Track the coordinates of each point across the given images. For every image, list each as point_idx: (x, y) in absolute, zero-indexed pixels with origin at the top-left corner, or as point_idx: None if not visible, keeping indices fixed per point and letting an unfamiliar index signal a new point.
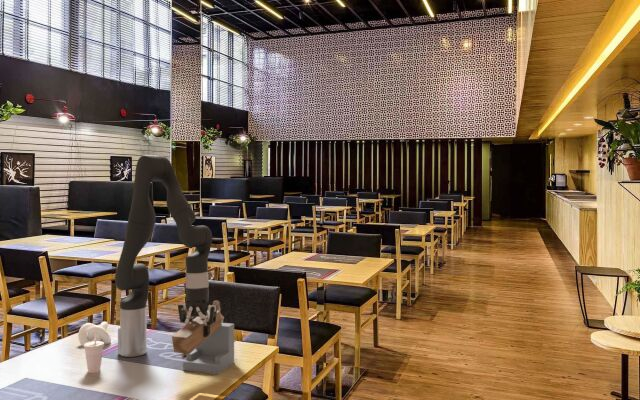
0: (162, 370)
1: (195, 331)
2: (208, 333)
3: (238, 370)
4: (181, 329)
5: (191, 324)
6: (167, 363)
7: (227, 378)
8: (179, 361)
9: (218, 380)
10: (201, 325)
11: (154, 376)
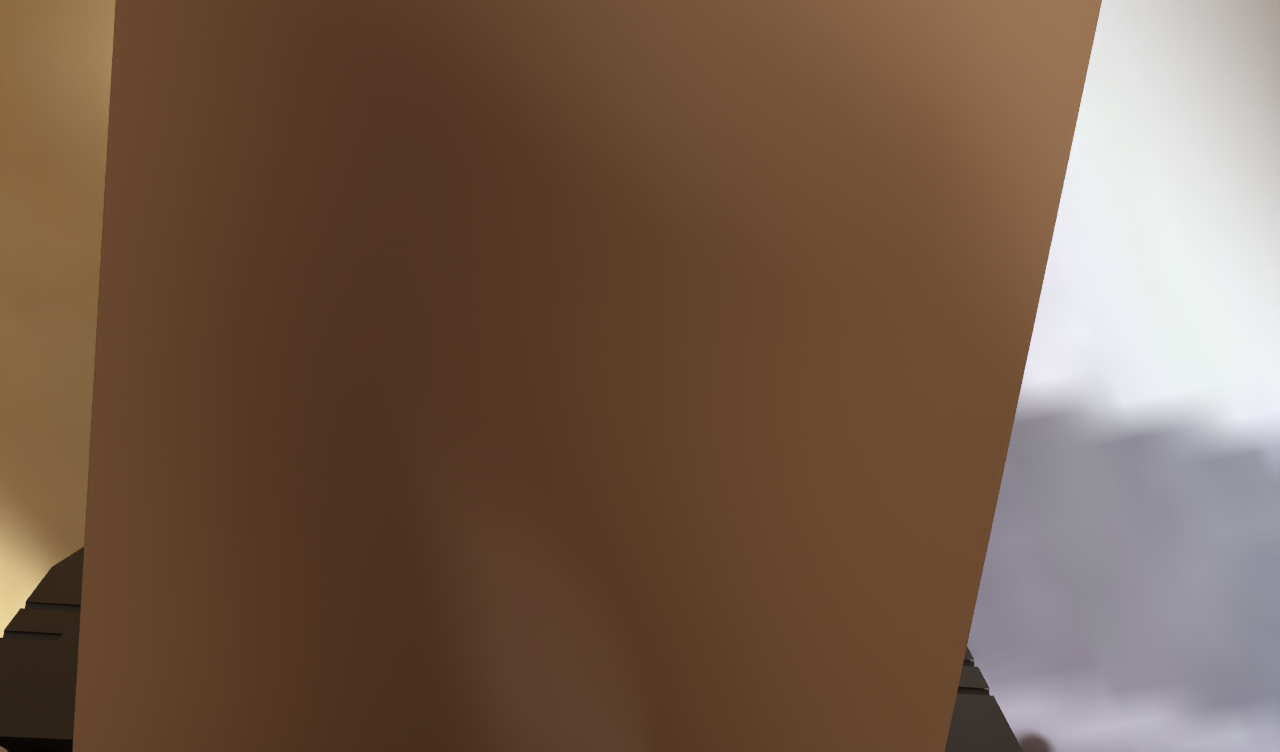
0: (1169, 296)
1: (133, 77)
2: (48, 607)
3: (50, 525)
4: (999, 179)
5: (704, 741)
6: (1189, 560)
7: (15, 191)
8: (1046, 658)
9: (103, 77)
10: (100, 688)
11: (1209, 27)
